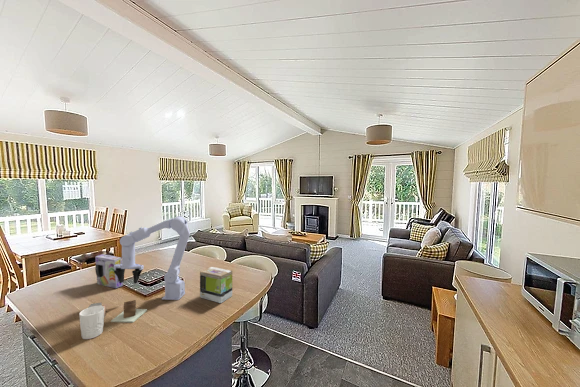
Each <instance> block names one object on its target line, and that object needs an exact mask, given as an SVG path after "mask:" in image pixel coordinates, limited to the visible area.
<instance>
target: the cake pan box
mask: <svg viewBox="0 0 580 387" xmlns="http://www.w3.org/2000/svg"><path fill="white" fill-rule="evenodd" d="M94 258H95V274H96V285H99V286H104V287H108V288H112V289H119V288H122V287H124V282H122V283H120V282H119V279H118V277H117V275H116V274H115V273H114V271H115V270H116V269H114V265H116V264H122V256H121V257H119V256H114V255H110V254H98V255H96V256H95V257H94Z"/></svg>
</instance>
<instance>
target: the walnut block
mask: <svg viewBox="0 0 580 387" xmlns="http://www.w3.org/2000/svg"><path fill="white" fill-rule="evenodd" d="M136 305H137V302H136V299H133V300H128V301H124V302H123V311H124V318H127V317H131V316H135V315H136V309H137V306H136Z"/></svg>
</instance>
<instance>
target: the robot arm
mask: <svg viewBox="0 0 580 387" xmlns="http://www.w3.org/2000/svg"><path fill="white" fill-rule="evenodd" d="M163 229H172V230H173V231H175V232H176V233H177V234H178V236H179V237H178V241H177V243H176V244H177V245H176V247H175V251H174V253H173V257H172V259H171V262H170V265H169V267H168V270H167V272H165V274H164V276H163V279H164V296H162V298H161V300H165V301H168V300H173V301H179V300H180V299H182V297H184V295H186V284H185V283H186V282H185V280H182V279H181V278H180V276H179V275H180V273H181V263H182V260H183V257H184V253H185V250H186V248H187V244H188V241H189V238H190V235H191V233H190V232H191V231H190V229H189V225H188V221H187V220H186V219H185V217H183V216H182V215H178V216H175V217H171V218H169V219H166V220H163V221H161V222H158V223H156V224H153V225H152V226H150V227H146V226H144V227H142V226H141V227H139V228H138V229H136V230H135V231H130V232H129V233H127V234H124V235H123V236H121V237H120V239H119V244H120V245H121V258H122V264H116V265H114V269H116V270H115V271H114V273H115V274H116V275H117V277H118V279H119V282H120V283H122V282H123V283H124V282H125V272H126V270H132V271H131V273H132V276H133V284H135V285H136V284H137V283H138V282H139V278H140V276H141V274H142V272H143V270H144V269H145V268H144V264H139V263H136V243H138V242H141V241H143V240H145V239H147V238H149V237H150V236H151V234H154V233H156V232H158V231H160V230H163Z"/></svg>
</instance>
